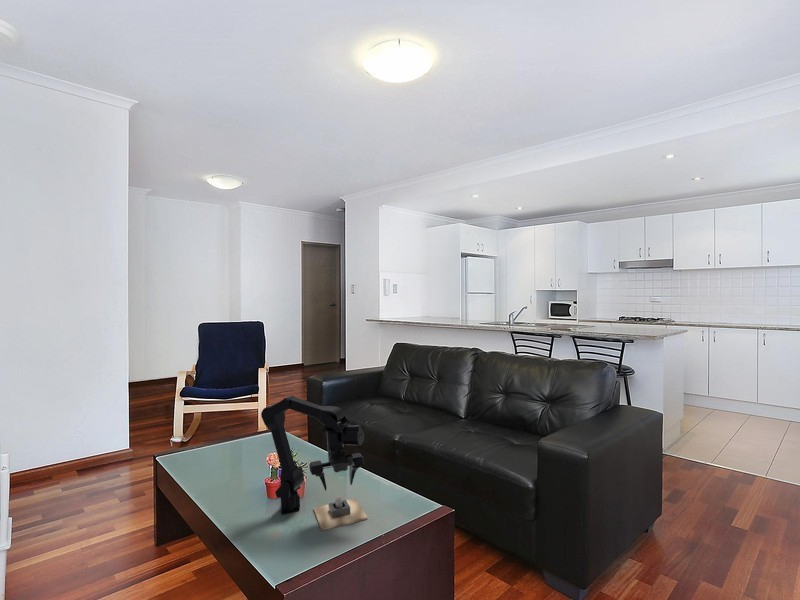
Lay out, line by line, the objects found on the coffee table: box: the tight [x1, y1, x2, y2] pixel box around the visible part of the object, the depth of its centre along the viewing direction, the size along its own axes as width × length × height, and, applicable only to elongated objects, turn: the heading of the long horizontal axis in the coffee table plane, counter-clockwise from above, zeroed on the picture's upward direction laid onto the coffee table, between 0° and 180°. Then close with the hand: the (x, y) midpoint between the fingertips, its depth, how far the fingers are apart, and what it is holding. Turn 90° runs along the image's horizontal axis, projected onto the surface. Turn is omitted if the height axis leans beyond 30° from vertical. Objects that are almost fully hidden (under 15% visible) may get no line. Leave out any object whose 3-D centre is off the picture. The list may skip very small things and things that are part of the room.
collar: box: [327, 499, 350, 518], centre depth 160 cm, size 6×6×2 cm
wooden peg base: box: [312, 495, 368, 531], centre depth 160 cm, size 16×16×6 cm
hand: (338, 487), depth 160 cm, fingers open, 9 cm apart
